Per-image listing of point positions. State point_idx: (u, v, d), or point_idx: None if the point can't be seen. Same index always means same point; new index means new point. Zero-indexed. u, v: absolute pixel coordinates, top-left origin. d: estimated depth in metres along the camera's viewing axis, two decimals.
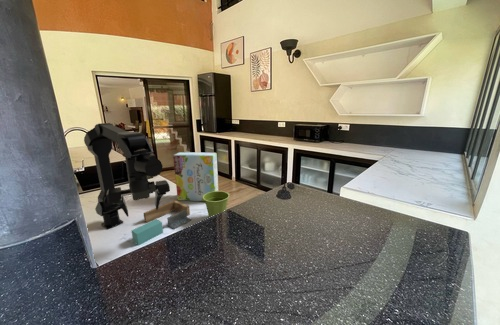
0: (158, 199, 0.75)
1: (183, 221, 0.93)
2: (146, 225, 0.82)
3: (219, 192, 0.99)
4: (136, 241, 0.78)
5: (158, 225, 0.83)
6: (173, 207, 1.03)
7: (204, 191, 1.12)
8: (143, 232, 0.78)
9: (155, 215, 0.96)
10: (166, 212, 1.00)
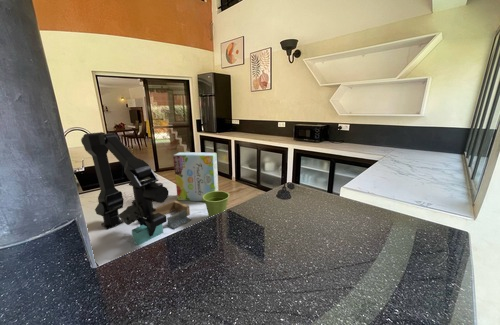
0: (147, 227, 0.78)
1: (183, 221, 0.93)
2: None
3: (219, 192, 0.99)
4: (136, 241, 0.78)
5: None
6: (173, 207, 1.03)
7: (204, 191, 1.12)
8: (143, 231, 0.78)
9: None
10: (166, 212, 1.00)
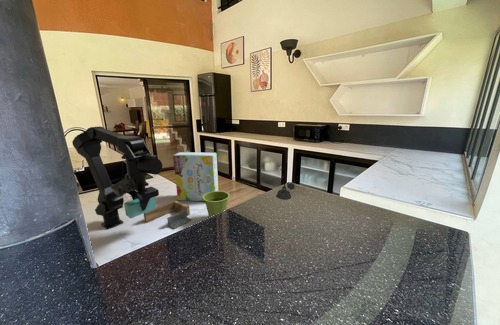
0: (140, 201, 0.79)
1: (183, 221, 0.93)
2: None
3: (219, 192, 0.99)
4: (128, 214, 0.79)
5: (151, 200, 0.84)
6: (173, 207, 1.03)
7: (204, 191, 1.12)
8: (135, 205, 0.79)
9: (155, 215, 0.96)
10: (166, 212, 1.00)
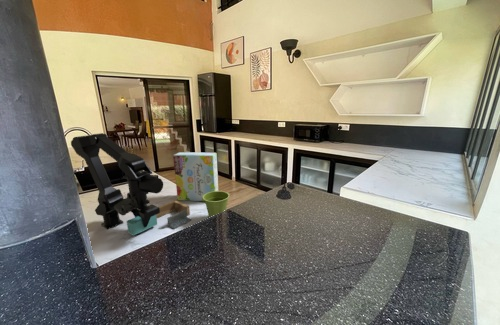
0: (141, 219, 0.82)
1: (183, 221, 0.93)
2: None
3: (219, 192, 0.99)
4: (131, 231, 0.82)
5: (152, 216, 0.87)
6: (173, 207, 1.03)
7: (204, 191, 1.12)
8: (137, 222, 0.82)
9: None
10: (166, 212, 1.00)
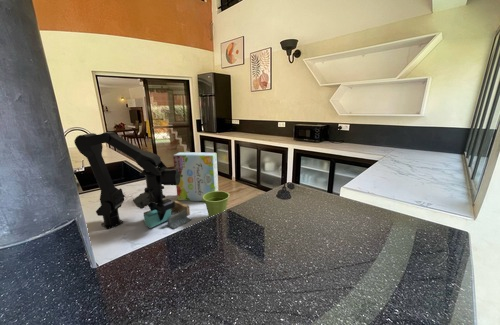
0: (158, 212, 0.87)
1: (183, 221, 0.93)
2: None
3: (219, 192, 0.99)
4: (148, 224, 0.87)
5: (167, 210, 0.92)
6: (173, 207, 1.03)
7: (204, 191, 1.12)
8: (154, 215, 0.87)
9: None
10: None
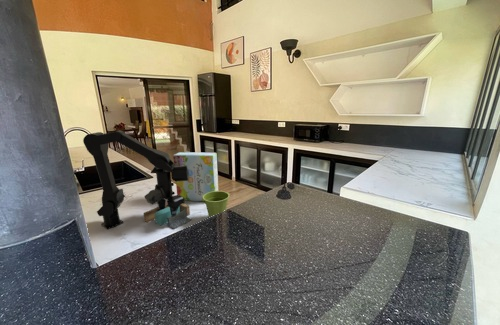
0: (170, 209, 0.90)
1: (183, 221, 0.93)
2: (166, 209, 0.95)
3: (219, 192, 0.99)
4: (158, 222, 0.91)
5: None
6: None
7: (204, 191, 1.12)
8: (164, 214, 0.91)
9: None
10: None
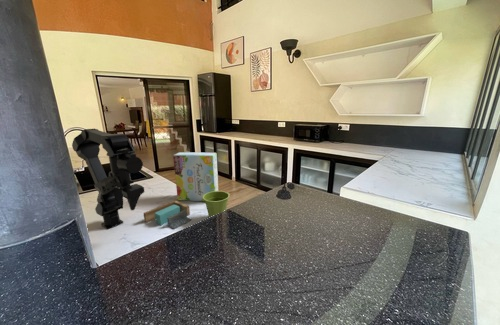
0: (128, 201, 0.77)
1: (183, 221, 0.93)
2: (166, 209, 0.95)
3: (219, 192, 0.99)
4: (159, 222, 0.91)
5: (176, 209, 0.96)
6: None
7: (204, 191, 1.12)
8: (164, 214, 0.91)
9: None
10: None
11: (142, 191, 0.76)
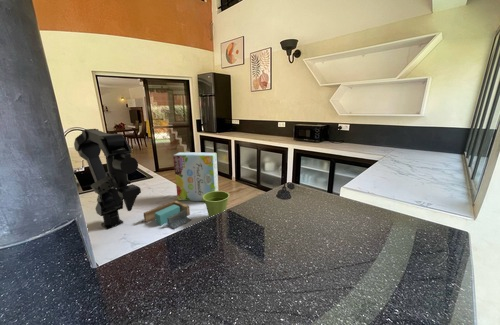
0: (124, 201, 0.76)
1: (183, 221, 0.93)
2: (166, 209, 0.95)
3: (219, 192, 0.99)
4: (159, 222, 0.91)
5: (176, 209, 0.96)
6: None
7: (204, 191, 1.12)
8: (164, 214, 0.91)
9: None
10: None
11: (138, 192, 0.75)
